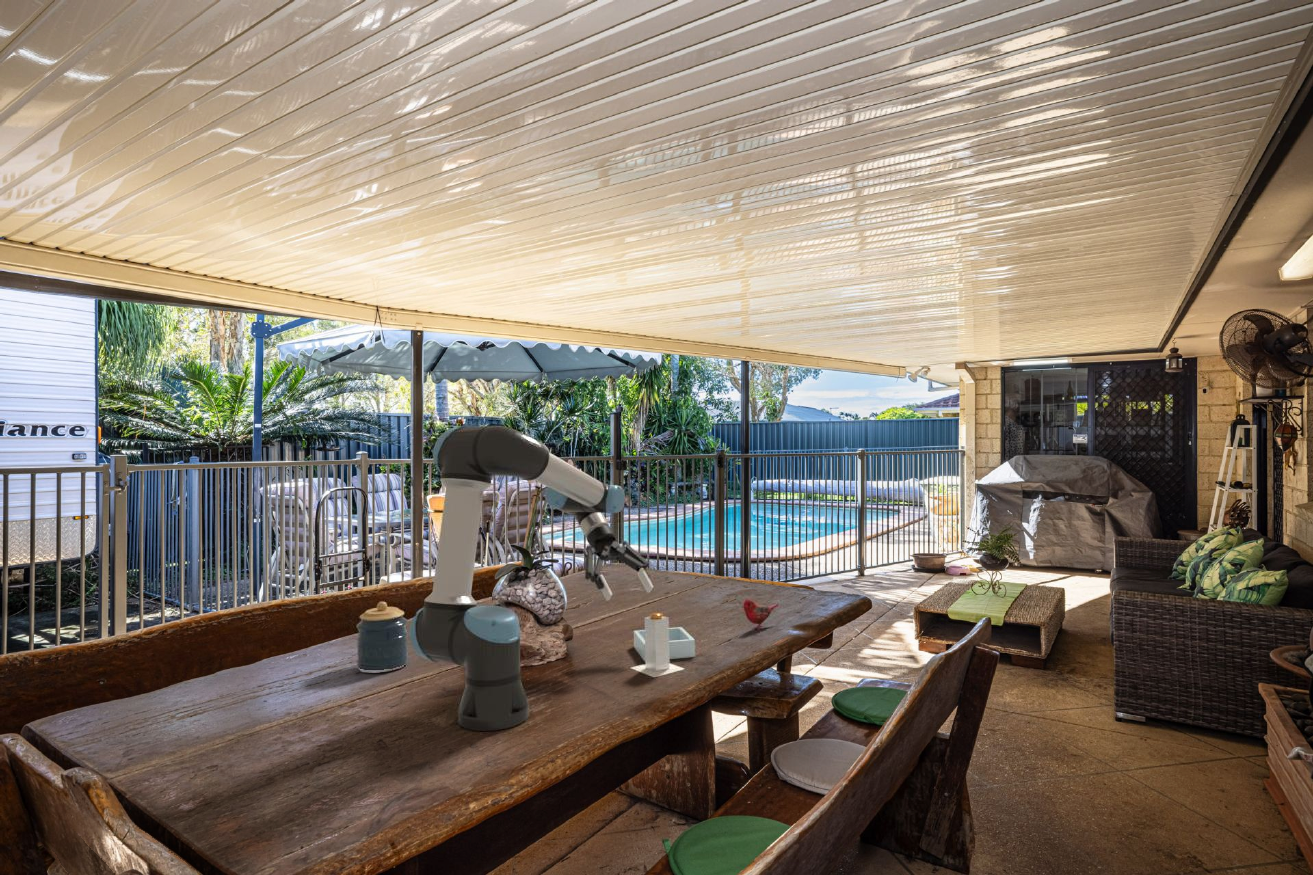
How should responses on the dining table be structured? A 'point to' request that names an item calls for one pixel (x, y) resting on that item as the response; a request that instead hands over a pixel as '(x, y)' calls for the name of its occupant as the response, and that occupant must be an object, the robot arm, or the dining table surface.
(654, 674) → the stud base
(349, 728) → the dining table surface
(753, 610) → the decorative bird figurine
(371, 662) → the canister
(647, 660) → the strut
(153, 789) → the dining table surface
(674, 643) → the bin
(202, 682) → the dining table surface
